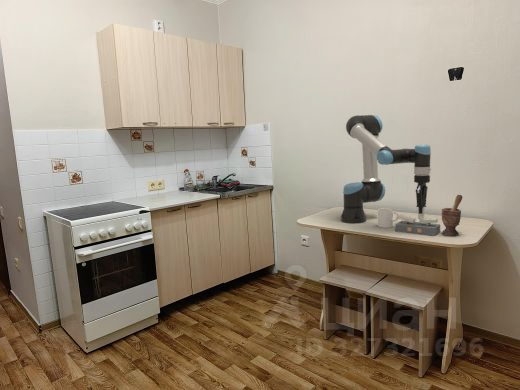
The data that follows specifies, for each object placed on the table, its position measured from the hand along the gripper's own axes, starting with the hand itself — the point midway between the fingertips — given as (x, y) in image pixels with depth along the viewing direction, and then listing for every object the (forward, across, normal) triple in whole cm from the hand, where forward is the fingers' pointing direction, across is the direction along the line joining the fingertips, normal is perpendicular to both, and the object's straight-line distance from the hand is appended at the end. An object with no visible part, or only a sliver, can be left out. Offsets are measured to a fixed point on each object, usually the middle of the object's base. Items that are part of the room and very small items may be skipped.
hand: (421, 219), depth 193 cm
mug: (+7, +4, +19) cm, 21 cm away
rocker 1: (+1, 0, +7) cm, 7 cm away
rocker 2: (+1, 0, -4) cm, 4 cm away
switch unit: (+7, 0, +2) cm, 7 cm away
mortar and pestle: (+7, +3, -14) cm, 16 cm away
